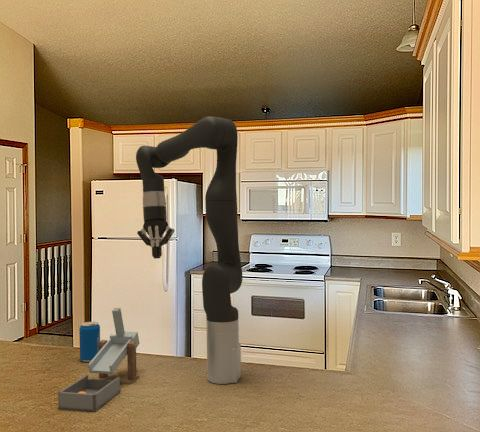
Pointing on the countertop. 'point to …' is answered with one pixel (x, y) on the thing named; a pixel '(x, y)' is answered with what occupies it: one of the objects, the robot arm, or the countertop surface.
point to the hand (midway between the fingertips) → (157, 258)
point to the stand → (130, 361)
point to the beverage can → (89, 340)
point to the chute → (113, 348)
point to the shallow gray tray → (88, 394)
